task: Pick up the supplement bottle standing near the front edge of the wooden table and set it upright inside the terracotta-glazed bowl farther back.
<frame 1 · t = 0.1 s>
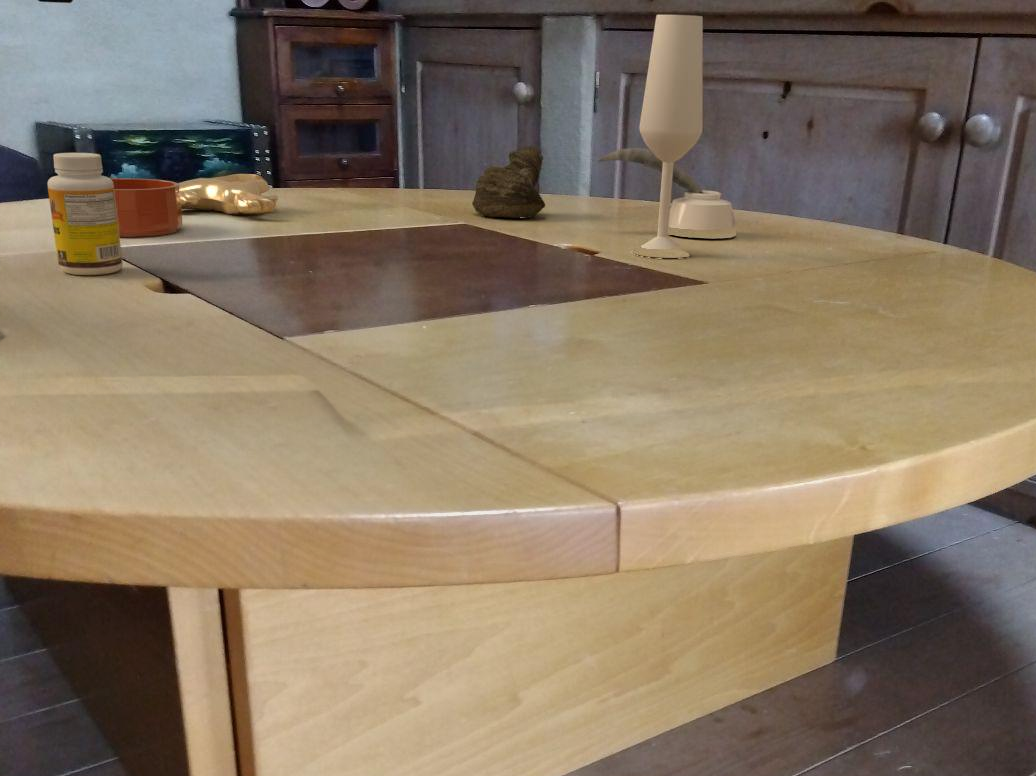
champagne flute: (660, 255, 125), on the table
inkwell: (664, 235, 139), on the table
supplement bottle: (91, 273, 104), on the table
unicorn: (217, 214, 142), on the table
bowl: (130, 230, 127), on the table
brown irregular lump: (496, 217, 149), on the table
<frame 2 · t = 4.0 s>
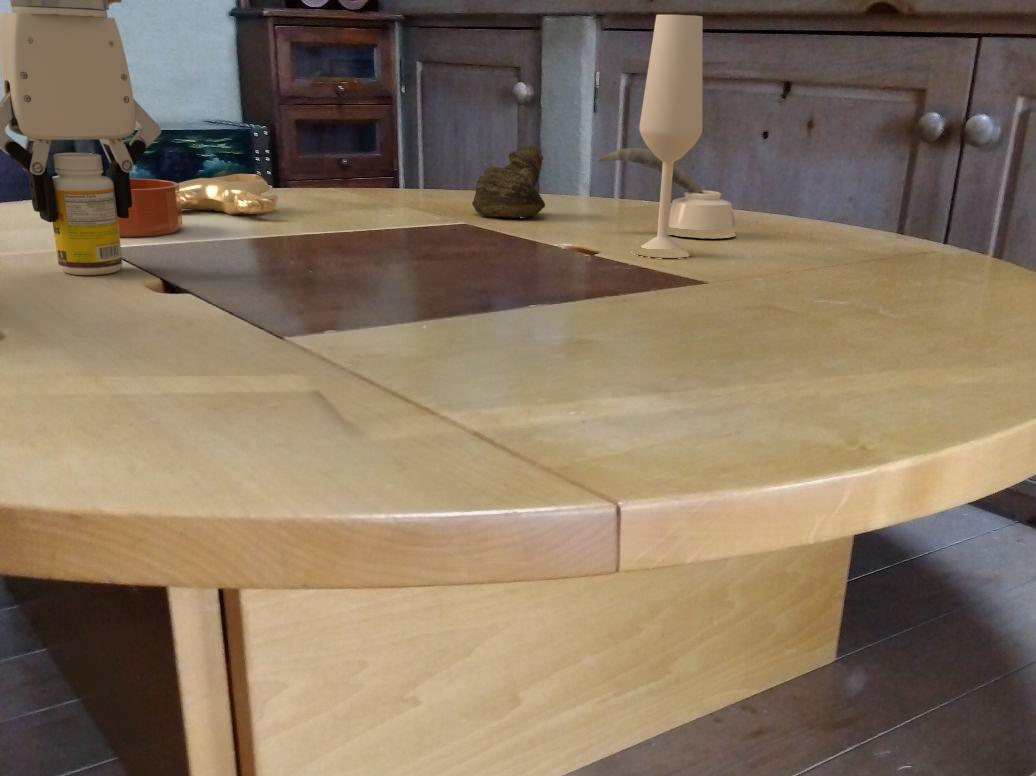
hand: (84, 216, 102), 5 cm above the table, tool pointing down, fingers closed on supplement bottle, 5 cm apart
supplement bottle: (91, 273, 104), on the table, touching gripper
everything else where it was.
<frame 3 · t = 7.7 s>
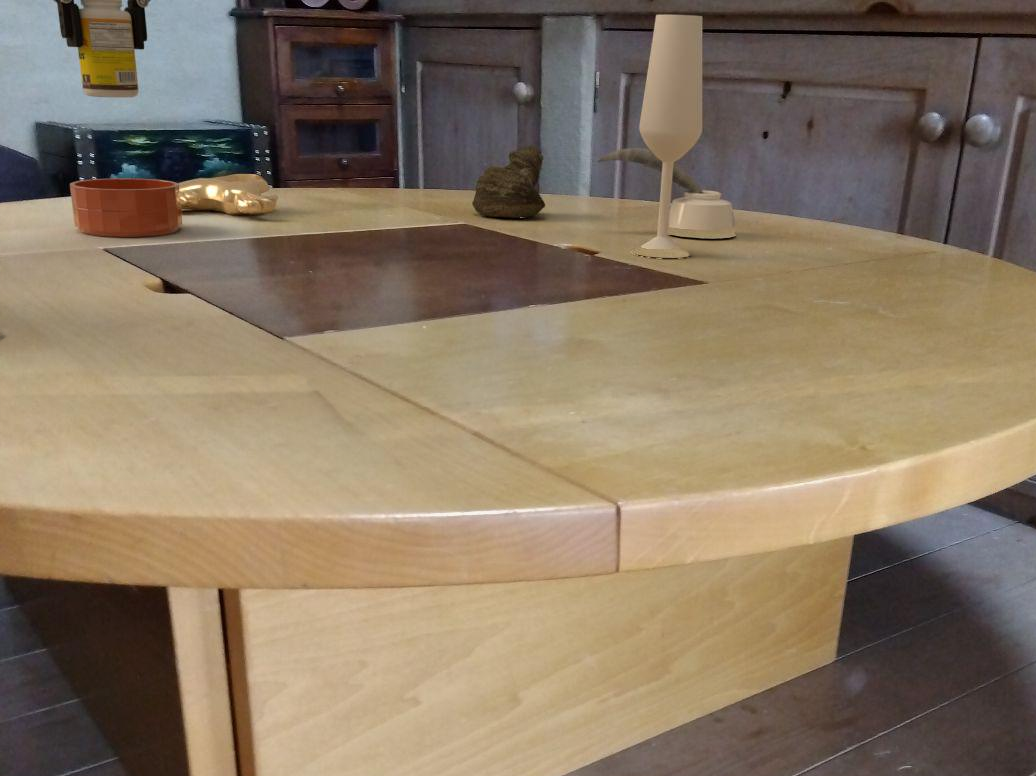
hand: (105, 46, 116), 19 cm above the table, tool pointing down, fingers closed on supplement bottle, 5 cm apart
supplement bottle: (111, 98, 118), point 14 cm above the table, touching gripper
everything else where it was.
when the fingers open (5 cm above the table, at t = 11.4 s): supplement bottle stays where it is, resting on bowl.
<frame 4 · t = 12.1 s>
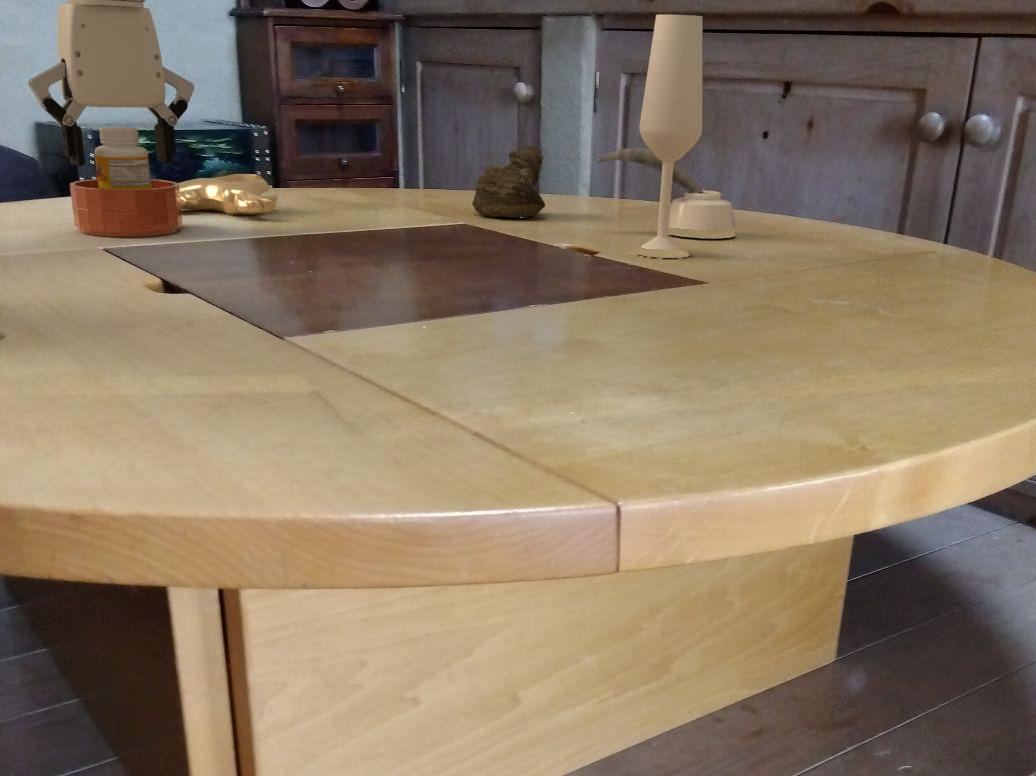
hand: (122, 163, 124), 7 cm above the table, tool pointing down, fingers open, 9 cm apart
supplement bottle: (129, 226, 126), resting on bowl
everything else where it was.
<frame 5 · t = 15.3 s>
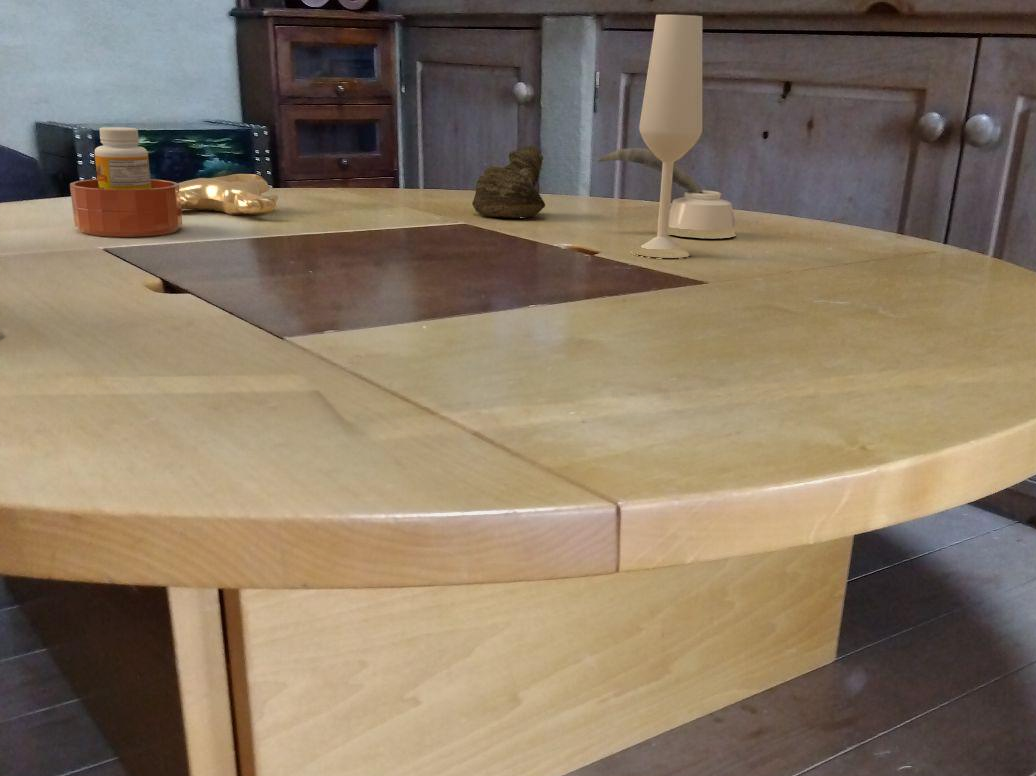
nothing on the table moved.
at the end: supplement bottle 0.1 cm off-centre in the bowl, point 0.4 cm above the bowl's base; supplement bottle tilted 0°; the gripper is holding nothing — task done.
